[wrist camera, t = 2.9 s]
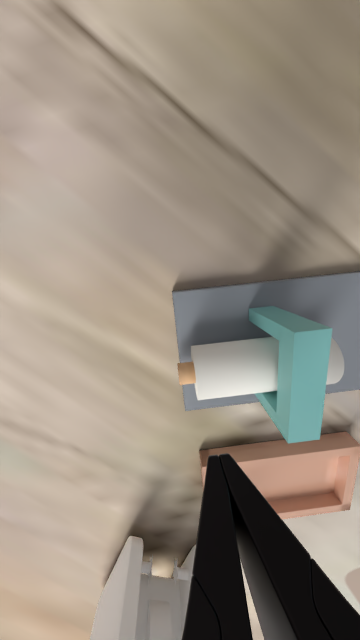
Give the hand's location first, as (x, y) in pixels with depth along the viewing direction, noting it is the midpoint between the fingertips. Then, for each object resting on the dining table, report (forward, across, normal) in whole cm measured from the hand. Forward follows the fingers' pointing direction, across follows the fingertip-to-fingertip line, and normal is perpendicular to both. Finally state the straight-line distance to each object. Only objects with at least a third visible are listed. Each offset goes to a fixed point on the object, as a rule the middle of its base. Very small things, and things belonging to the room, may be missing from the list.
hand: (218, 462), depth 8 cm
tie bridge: (+9, -6, 0) cm, 11 cm away
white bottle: (+9, -4, 0) cm, 10 cm away
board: (+10, -9, 0) cm, 14 cm away
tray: (+10, -8, +16) cm, 21 cm away
